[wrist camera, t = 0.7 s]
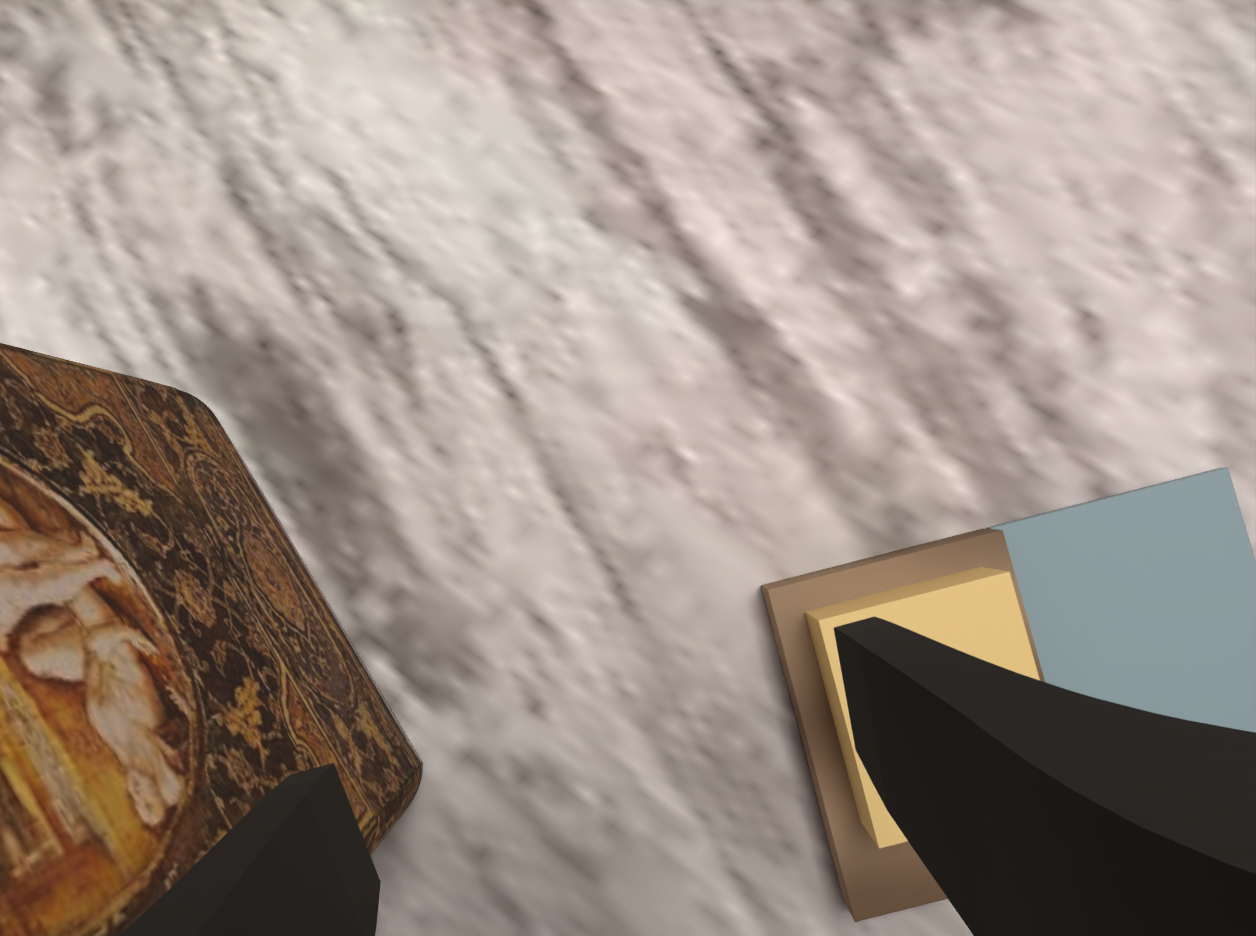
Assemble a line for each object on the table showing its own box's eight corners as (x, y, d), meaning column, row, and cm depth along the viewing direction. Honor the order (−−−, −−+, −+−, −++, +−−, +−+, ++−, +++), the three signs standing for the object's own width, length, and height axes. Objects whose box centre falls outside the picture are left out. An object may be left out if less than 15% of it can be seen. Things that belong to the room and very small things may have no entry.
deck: (1070, 841, 27) (1095, 861, 26) (843, 899, 27) (855, 922, 26) (982, 528, 28) (1002, 529, 26) (760, 585, 28) (767, 589, 26)
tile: (1039, 776, 26) (1073, 799, 24) (860, 822, 26) (879, 848, 24) (981, 566, 26) (1009, 571, 24) (804, 612, 26) (818, 620, 24)
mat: (1311, 779, 27) (1321, 783, 27) (1073, 840, 27) (1079, 845, 27) (1219, 468, 28) (1227, 467, 27) (985, 527, 28) (990, 528, 27)
